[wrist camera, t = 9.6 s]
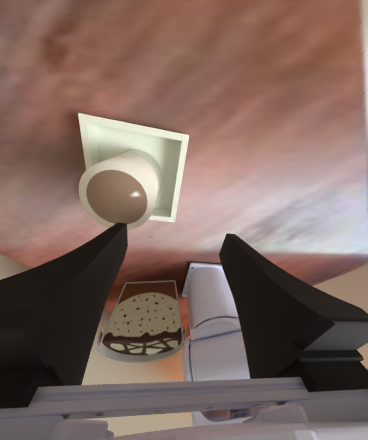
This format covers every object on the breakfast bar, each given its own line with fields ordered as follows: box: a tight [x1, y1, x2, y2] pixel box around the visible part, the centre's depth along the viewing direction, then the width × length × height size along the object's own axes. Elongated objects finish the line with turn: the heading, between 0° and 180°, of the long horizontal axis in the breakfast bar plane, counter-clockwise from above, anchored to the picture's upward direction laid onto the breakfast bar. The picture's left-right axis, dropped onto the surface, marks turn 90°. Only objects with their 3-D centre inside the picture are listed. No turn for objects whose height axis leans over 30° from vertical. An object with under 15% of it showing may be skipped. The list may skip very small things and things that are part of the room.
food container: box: [97, 280, 187, 363], centre depth 26 cm, size 12×6×10 cm, turn 89°
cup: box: [79, 150, 161, 230], centre depth 14 cm, size 5×5×8 cm
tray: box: [78, 113, 189, 222], centre depth 17 cm, size 10×10×3 cm
